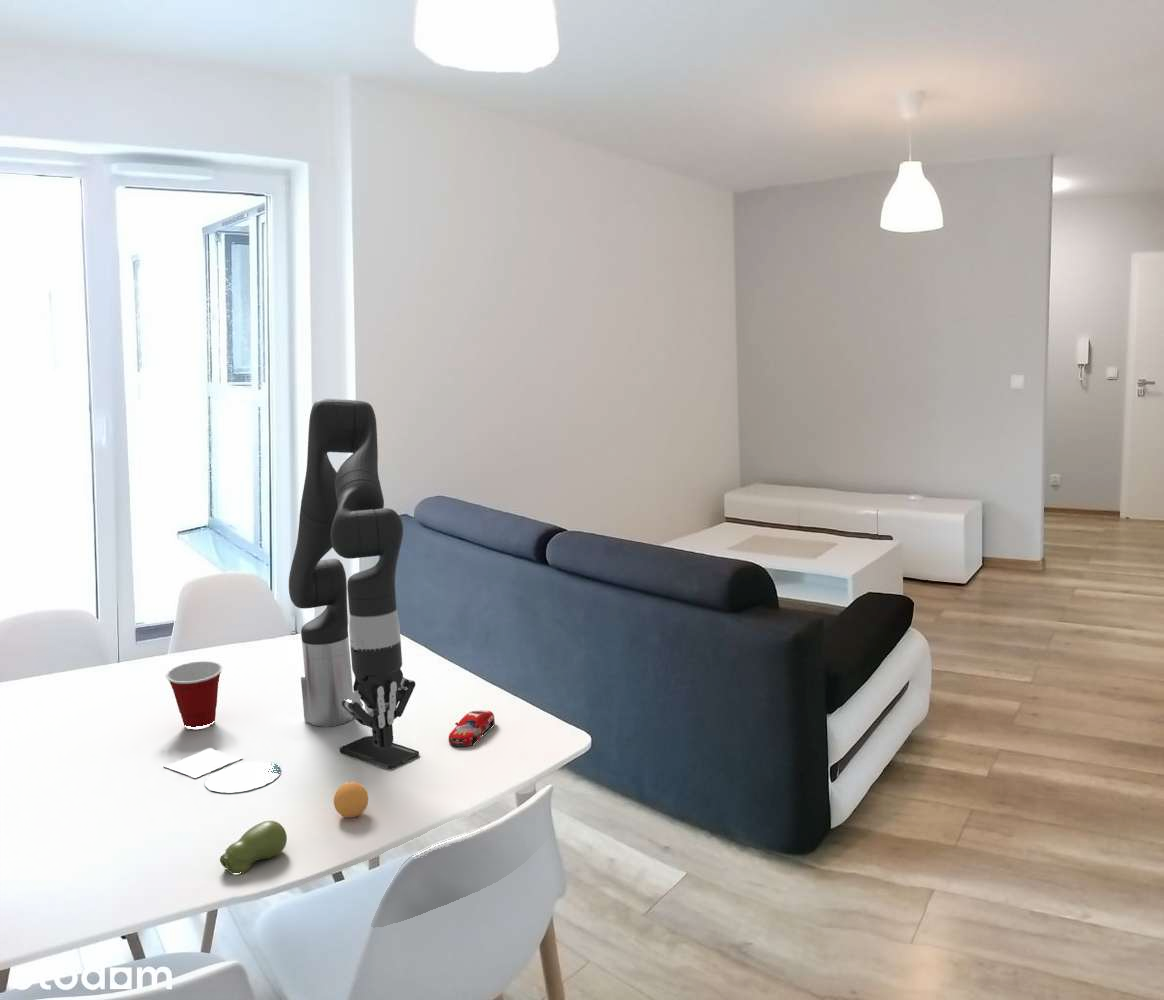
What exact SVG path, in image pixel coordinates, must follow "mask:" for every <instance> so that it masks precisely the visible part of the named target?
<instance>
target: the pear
mask: <svg viewBox="0 0 1164 1000" xmlns="http://www.w3.org/2000/svg"><path fill="white" fill-rule="evenodd" d="M287 836H288V835H287V832H286V830H285V828H284V826H282V825H281V823H280V822H278V821H274V820H265V821H262V822H260V823H258V824H256V825H254V826H252V827H251V828H249V829H248V830H246V831H245V832H244V833H243V834H242V836H241V837H240V838H239V839H238V840H237V841H236V842H234V843H231V844H230V845H229V846H228V847H227V848H226V849H225V850H224V851H225V852H224V853H223V854H222V855H220V858H219V863H220V864H221V865H222V866H223V867H224V869H225V868H227V869H228V870H229V871H228V870H227V869H226V870H227V871H228V872H230V871H231V872H232V873H240V872H241V873H242V872H245V873H246V872H247V871H249V870H250V868H251V866H252V865H253V863H254V862H256V861H259V860H265V859H272V858H274V857H277V856H278V855H280V854H281V853H282V852H283V851H284V849H285V848H286V844H287V839H288V837H287ZM231 872H230V873H231ZM232 873H231V874H232ZM242 874H243V873H242Z"/></svg>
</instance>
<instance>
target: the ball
mask: <svg viewBox="0 0 1164 1000" xmlns="http://www.w3.org/2000/svg"><path fill="white" fill-rule="evenodd" d="M368 803H369V794H368V792H367V790H366V788H365V787H364V786H363V785H362V784H360V783H358V782H353V781H350V782H346V783H344V784H342V785H340V786H339V787H338V788H337V790H336V791H335V793H334V795H333V806H334V809H335V810H336V812H337V813H338V814H339V815H341V816H342V817H344V818H355V817H358V816H360V815H362V813H363V812H364V811H365V809H367V806H368Z"/></svg>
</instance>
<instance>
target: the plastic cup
mask: <svg viewBox="0 0 1164 1000" xmlns="http://www.w3.org/2000/svg"><path fill="white" fill-rule="evenodd" d="M222 671H223V666H222V665H221V663H218V662H215V661H208V660H207V661H206V660H202V661H200V660H199V661H191V662H187V663H183V664H179V665H177V666H174V667H173V668H171V669H170V670H168V671H167V672H166V674H165V677H166V679H167V680H168V683H169V684H170V687H171V689H172V691H173V694H174V698H175V701H176V704H177V708H178V711H179V713H180V716H181V719H182V723H184V724H183V725H184V726H185V725H186V726H191V727H196V726H203V725H207V724H210V723H212V722H213V721H215V720H216V716H217V715H216V714H217V713H216V712H217V706H218V705H217V704H218V693H219V692H218V691H219V682H220V677H221V673H222Z"/></svg>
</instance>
